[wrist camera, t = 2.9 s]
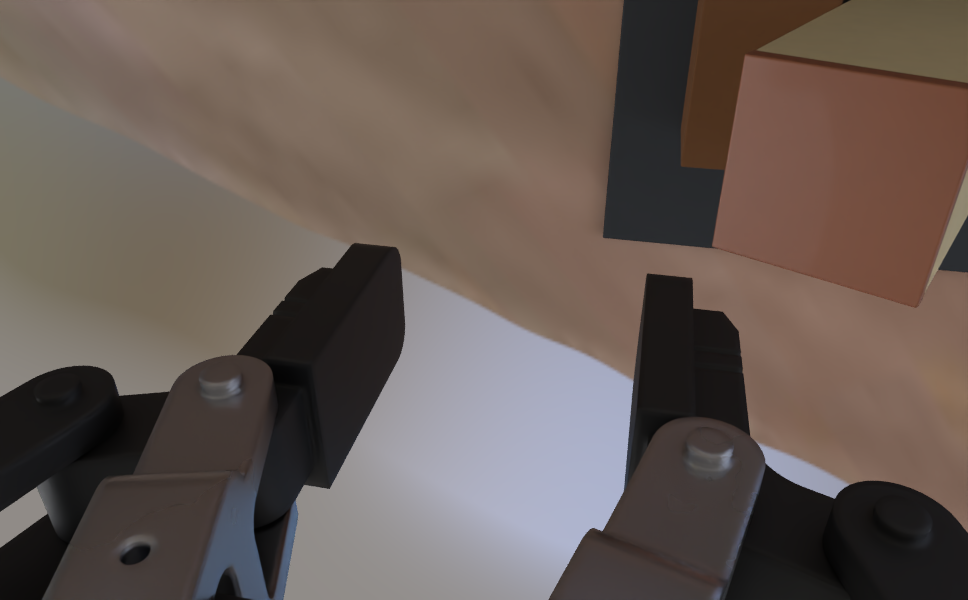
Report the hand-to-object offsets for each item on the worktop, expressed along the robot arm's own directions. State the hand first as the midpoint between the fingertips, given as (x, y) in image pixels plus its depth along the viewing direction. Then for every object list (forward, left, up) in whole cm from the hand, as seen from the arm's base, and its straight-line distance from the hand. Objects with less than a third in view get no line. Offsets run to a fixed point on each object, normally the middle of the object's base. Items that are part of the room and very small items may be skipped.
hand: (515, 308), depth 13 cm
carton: (+9, 0, -19) cm, 21 cm away
